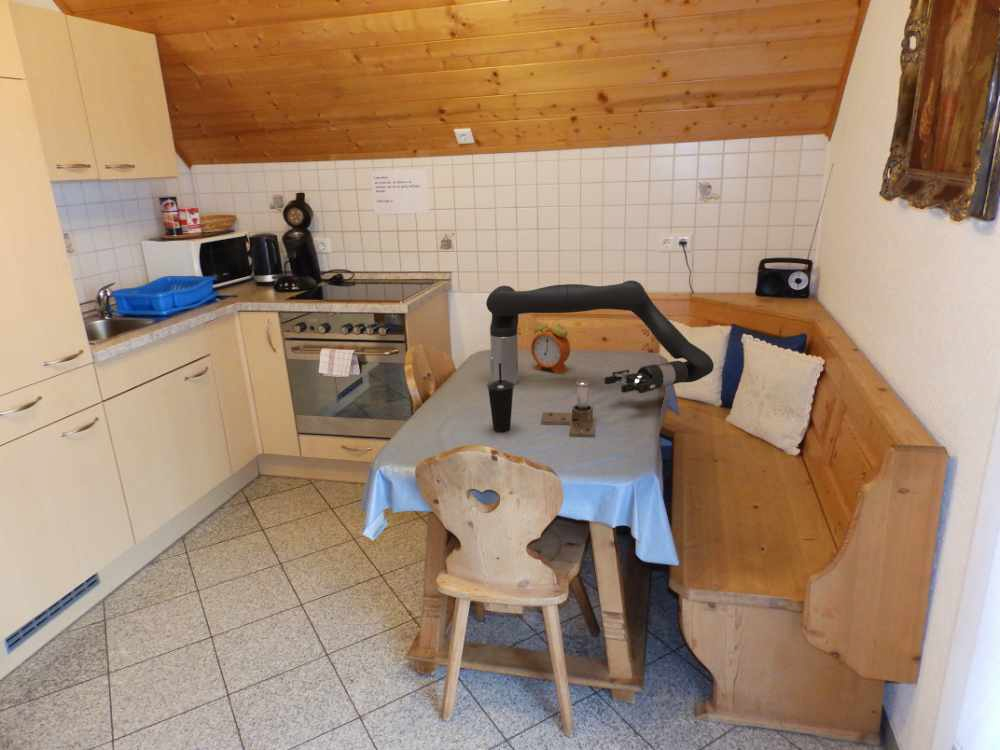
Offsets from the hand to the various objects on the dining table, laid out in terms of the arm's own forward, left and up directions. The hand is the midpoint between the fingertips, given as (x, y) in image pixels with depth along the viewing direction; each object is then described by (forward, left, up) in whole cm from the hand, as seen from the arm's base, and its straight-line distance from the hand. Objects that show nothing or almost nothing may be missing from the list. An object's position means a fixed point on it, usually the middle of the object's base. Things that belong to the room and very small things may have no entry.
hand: (613, 385), depth 201 cm
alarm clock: (-21, +42, -9) cm, 48 cm away
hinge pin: (-9, -6, -9) cm, 14 cm away
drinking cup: (-32, -14, -9) cm, 36 cm away
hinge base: (-13, -11, -9) cm, 19 cm away
